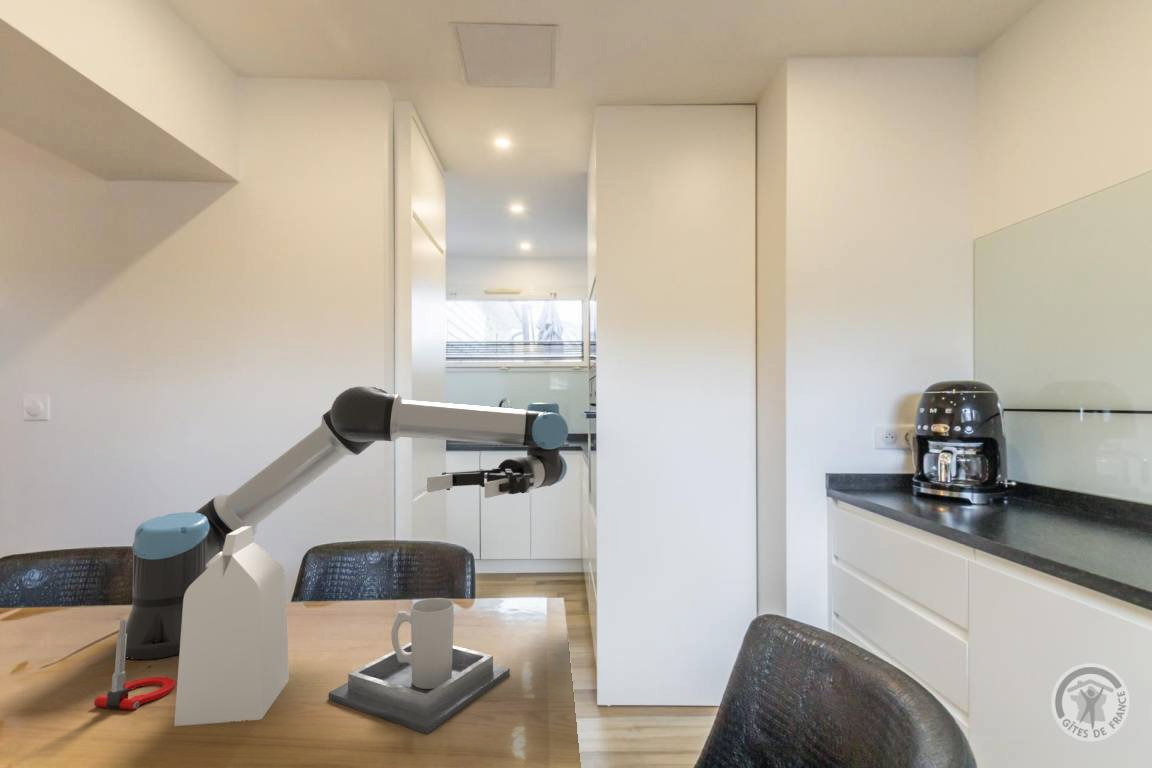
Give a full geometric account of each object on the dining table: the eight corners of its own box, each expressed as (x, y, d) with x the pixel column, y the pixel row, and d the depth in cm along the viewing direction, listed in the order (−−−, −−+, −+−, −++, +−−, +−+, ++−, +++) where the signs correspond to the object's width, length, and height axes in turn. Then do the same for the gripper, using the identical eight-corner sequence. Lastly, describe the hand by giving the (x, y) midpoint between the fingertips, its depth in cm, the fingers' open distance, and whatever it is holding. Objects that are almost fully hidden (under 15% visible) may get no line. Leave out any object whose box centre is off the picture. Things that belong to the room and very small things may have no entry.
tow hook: (142, 681, 96) (87, 708, 87) (148, 601, 97) (94, 619, 88) (187, 686, 95) (136, 713, 86) (192, 604, 96) (142, 623, 87)
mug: (457, 670, 97) (458, 598, 97) (447, 690, 90) (448, 612, 91) (398, 669, 97) (399, 597, 98) (383, 689, 91) (384, 611, 91)
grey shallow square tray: (328, 699, 90) (328, 676, 90) (419, 650, 107) (420, 631, 107) (427, 734, 80) (427, 708, 80) (509, 674, 98) (509, 653, 98)
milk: (261, 719, 84) (264, 538, 85) (174, 726, 82) (178, 540, 83) (289, 680, 96) (291, 521, 97) (213, 685, 94) (216, 523, 95)
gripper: (570, 496, 120) (512, 514, 102) (473, 487, 132) (406, 502, 113) (570, 460, 121) (512, 471, 102) (474, 454, 132) (406, 463, 114)
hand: (456, 487), depth 108 cm, fingers open, 13 cm apart
